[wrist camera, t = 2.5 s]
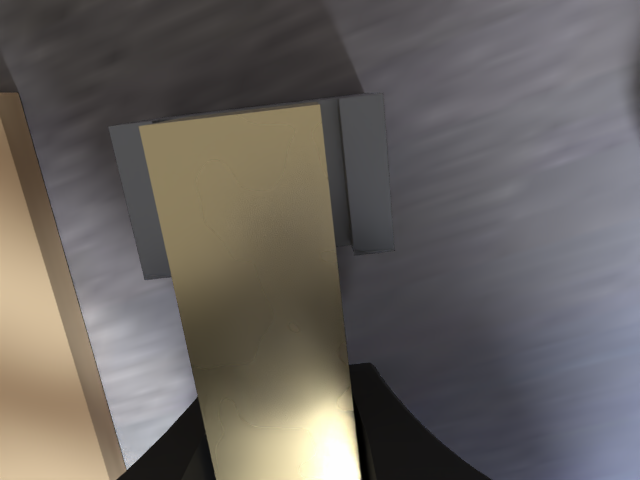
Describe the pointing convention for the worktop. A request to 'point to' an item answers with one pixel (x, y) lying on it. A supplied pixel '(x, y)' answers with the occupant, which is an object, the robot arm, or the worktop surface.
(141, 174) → the post
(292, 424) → the rail
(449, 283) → the worktop surface
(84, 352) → the board
